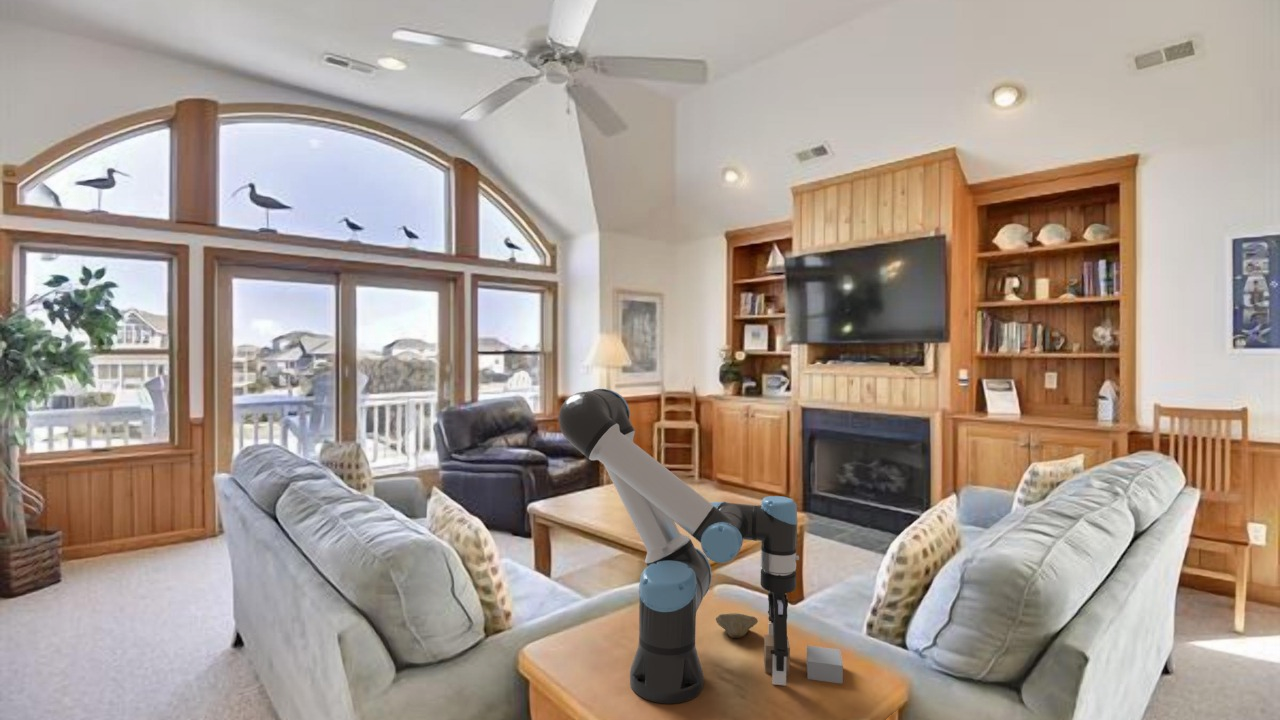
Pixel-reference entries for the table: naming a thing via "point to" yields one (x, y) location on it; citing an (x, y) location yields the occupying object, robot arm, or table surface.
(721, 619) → the fossil
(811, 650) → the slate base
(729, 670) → the table surface
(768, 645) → the walnut block
